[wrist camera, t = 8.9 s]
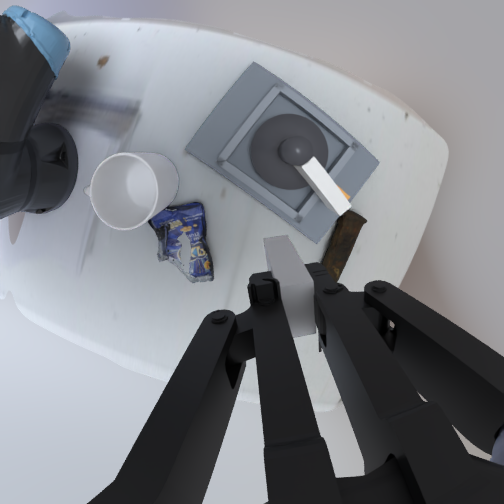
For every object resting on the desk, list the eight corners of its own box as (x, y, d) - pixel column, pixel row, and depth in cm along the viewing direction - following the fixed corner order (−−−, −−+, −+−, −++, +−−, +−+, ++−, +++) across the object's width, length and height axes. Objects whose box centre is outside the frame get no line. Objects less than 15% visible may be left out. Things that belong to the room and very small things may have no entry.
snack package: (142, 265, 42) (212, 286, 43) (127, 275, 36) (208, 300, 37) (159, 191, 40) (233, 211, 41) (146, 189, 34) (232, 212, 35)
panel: (188, 149, 36) (181, 149, 32) (253, 66, 32) (254, 57, 28) (312, 239, 41) (319, 248, 37) (372, 161, 37) (385, 162, 33)
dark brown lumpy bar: (339, 204, 39) (349, 210, 35) (360, 214, 40) (373, 222, 36) (288, 311, 45) (292, 327, 41) (309, 317, 46) (315, 333, 41)
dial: (234, 147, 33) (232, 145, 27) (291, 101, 32) (302, 90, 25) (301, 223, 37) (313, 238, 31) (354, 179, 35) (376, 185, 29)
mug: (105, 155, 35) (66, 158, 25) (181, 151, 36) (158, 150, 26) (106, 210, 38) (69, 229, 28) (180, 211, 39) (158, 231, 29)
